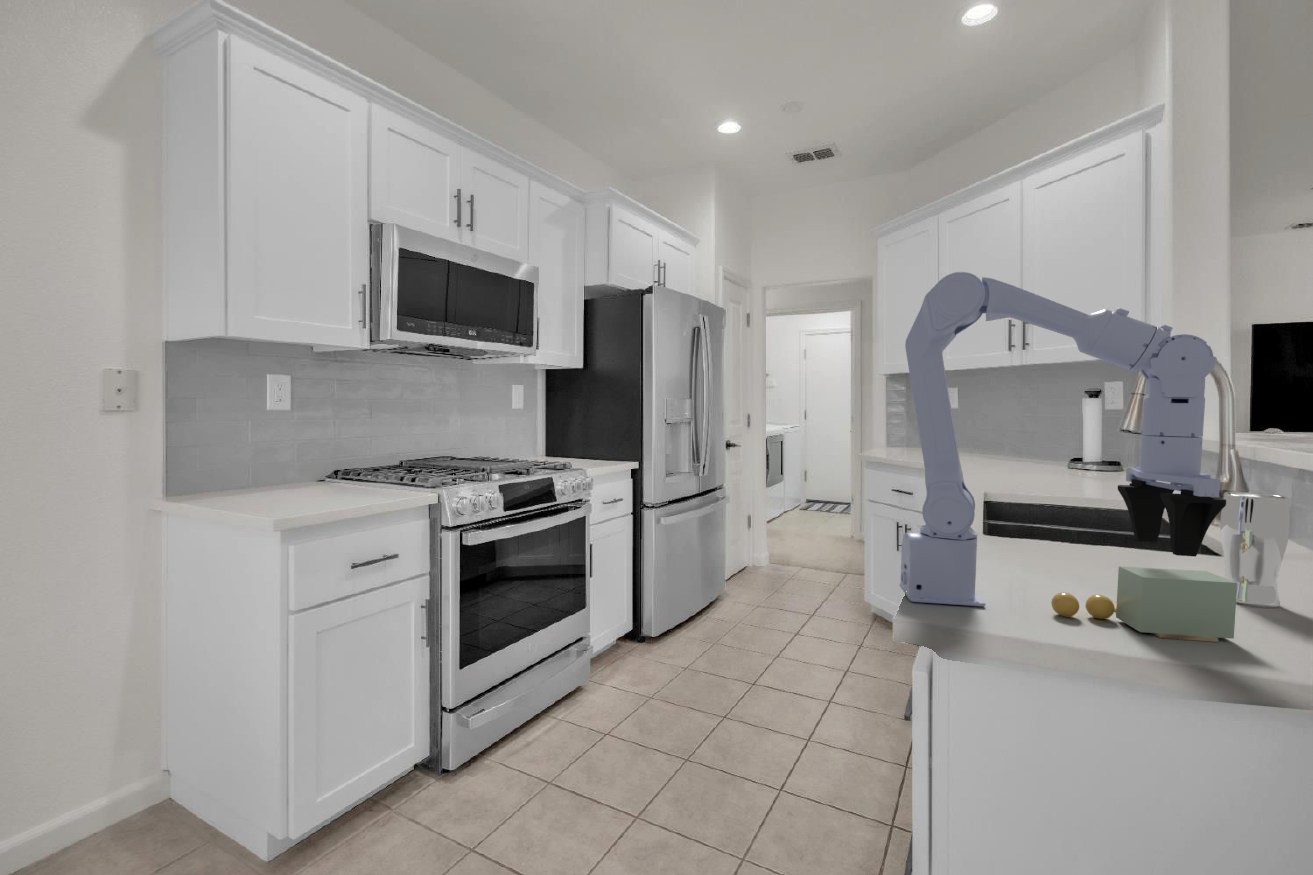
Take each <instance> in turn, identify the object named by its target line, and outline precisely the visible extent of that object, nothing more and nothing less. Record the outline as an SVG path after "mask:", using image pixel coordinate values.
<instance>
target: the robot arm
mask: <svg viewBox="0 0 1313 875" xmlns="http://www.w3.org/2000/svg"><path fill="white" fill-rule="evenodd" d="M1129 313H1130V311H1129V310H1126V309H1124V308H1122V307H1121V308H1120V307H1117V308H1116V309H1115V311H1114V310H1113V311H1112V310H1109V309H1107V308H1105V309H1101V310H1098V311H1096V312H1092V313H1085V312H1082V311H1080V310H1077V309H1075V308H1072V307H1071V306H1070V307H1069V306H1067V305H1064V304H1062V303H1059V302H1056V301H1054V300H1051V299H1048V298H1046V297H1043V296H1041V295H1039V294H1036V293H1034V292H1030V291H1028V290H1025V289H1024V288H1021V287H1019V286H1018V287H1017V286H1016V285H1012V284H1009V283H1007V282H1003V281H1000V280H997V279H994V278H990V277H986V276H981V278H979V277H978V276H977V275H975V274H973V273H971V272H967V271H956V272H952V273H949V274H947V275H945V276H944V277H942V278H941V279H940V280H939V281H938V282H936V284H935V285H934V286H933V287H932V288H931V289H930V290H929V291H928V292H927V293H925V296H924V298H923V300H922V303H921V306H920V308H919V311H918V313H917V315H916V317H915V320H914V322H913V324H912V326H911V328H910V331H909V332H908V334H907V337H906V338H905V339H906V340H905V344H904V346H905V347H904V348H905V353H906V360H907V361H906V362H907V366H908V371H909V373H908V374H909V378H910V384H911V390H912V397H913V403H914V404H913V405H914V409H915V410H914V411H915V415H916V421H917V427H918V434H919V440H920V446H921V452H922V460H923V464H924V465H923V466H924V478H925V479H924V480H925V481H924V484H925V489H926V490H925V491H926V496H925V501H924V502H923V505H922V509H921V510H922V511H921V512H922V513H921V514H922V519H923V521H924V523H925V524H922V525H921V526H920V528H919V530H920V531H917V532H905V533H904V534H903V536H902V541H901V556H900V557H901V558H900V560H901V561H900V563H901V564H900V582H899V585H898V586H899V587H900V590H902V591H903V593H904V594H905V595H906V597H907V598H908V600H909V601H910V602H914V603H924V604H925V603H928V604H938V605H939V604H941V605H942V604H943V605H954V606H955V605H956V606H957V605H958V606H969V607H970V606H971V607H986V602H985V601H984V600H982V599H981V597H979V596H978V595H977V594H976V577H977V575H976V574H977V571H976V570H977V552H978V532H977V531H976V530H974V529H973V528H972V527H971V526H972V525H973V523H974V520H975V515H976V514H975V510H976V501H975V499H974V498H975V497H974V496H973V494H972V493H971V491H970V490H969V489H968V488H967V486H966V484H965V480H964V475H963V470H962V465H961V461H960V454H959V449H958V447H959V446H958V442H957V436H956V431H955V425H954V424H955V423H954V417H953V411H952V404H951V399H950V398H951V397H950V393H949V386H948V382H947V381H948V380H947V375H946V369H945V364H944V363H945V362H944V357H943V354H944V353H943V352H944V350H945V349H946V348H947V347H948V346H949V345H950V344H951V342H953V340H954V339H955V338H956V337H957V335H958V334H960V333H961V332H963V331H965V330H966V329H968V328H969V327H971V326H972V325H973V324H975V323H977V322H978V320H980V318H981V317H982V316H983V314H985V322H991V321H995V320H996V321H997V320H1002V319H1007V318H1008V319H1009V318H1011V319H1015V320H1018V321H1021V322H1024V323H1027V324H1030V325H1033V326H1037V327H1039V328H1042V329H1045V330H1048V331H1052V332H1054V333H1057V334H1060V335H1063V336H1066V337H1070V338H1073V340H1074V341H1075V344H1076V347H1077V349H1078V351H1079V352H1080V353H1083V354H1084V355H1088V356H1090V357H1093V358H1096V359H1099V360H1101V361H1104V362H1107V363H1110V364H1112V365H1115V366H1117V367H1120V368H1122V369H1126V370H1128V371H1131V372H1136V371H1140V373H1141V375H1142V376H1143V378H1144V379H1145V391H1144V392H1145V394H1144V398H1143V401H1142V402H1143V403H1142V405H1143V406H1142V419H1141V420H1142V422H1141V435H1140V448H1139V449H1140V452H1139V464H1138V466H1126V471H1125V472H1126V473H1125V481H1126V482H1128V483H1129V484H1118V485H1117V491H1118V493H1119V494H1120V495H1121V497H1122V499H1123V501H1124V503H1125V506H1126V509H1127V511H1128V514H1129V518H1130V522H1131V523H1130V524H1131V526H1132V531H1133V534H1134V535H1133V536H1134V539H1135V541H1137V542H1146V543H1149V542H1150V543H1157V541H1158V539H1159V536H1160V533H1161V526H1162V521H1163V516H1164V513H1165V510H1166V514H1167V518H1168V524H1169V539H1170V547H1171V551H1172V555H1174V556H1177V557H1178V556H1179V557H1181V556H1183V557H1197V555H1198V553H1199V550H1200V548H1201V546H1202V543H1203V540H1204V539H1205V536H1206V534H1207V531H1208V530H1209V528H1210V526H1211V524H1212V523H1213V521H1214V520H1215V518H1216V517H1217V515H1218V514H1219V513H1220V512H1222V509H1223V508H1224V507H1225V506H1226V500H1225V499H1224V498H1222V497H1221V498H1220V490H1221V488H1220V487H1221V479H1219V478H1218V479H1217V478H1212V475H1211V474H1210V473H1201V472H1202V471H1201V470H1202V469H1201V468H1202V452H1203V440H1204V439H1203V438H1204V437H1203V436H1204V426H1205V423H1204V422H1205V408H1206V398H1205V389H1206V377H1208V376H1209V375H1210V373H1212V371H1213V370H1214V368H1215V366H1216V364H1217V357H1216V356H1214V352H1213V349H1212V347H1211V345H1208V344H1207V343H1208V342H1207V341H1206V340H1204V339H1203V338H1202V337H1199V336H1197V335H1192V334H1175V335H1172V334H1171V332H1172V330H1173V326H1169V325H1167V324H1162V325H1161V326H1160V327H1159V326H1156V325H1154V324H1151V323H1147V322H1146V321H1145V322H1144V321H1142V320H1139V319H1137V318H1136V319H1135V318H1134V317H1130V316H1129ZM1171 335H1172V336H1171ZM1174 491H1177V492H1180V493H1174ZM906 591H907V592H906Z"/></svg>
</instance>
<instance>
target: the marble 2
mask: <svg viewBox="0 0 1313 875" xmlns="http://www.w3.org/2000/svg"><path fill="white" fill-rule="evenodd" d="M1112 601H1113V600H1111V599H1110V598H1109V597H1108V596H1106V595H1103V594H1093V595H1091V596H1089V597H1088V598H1087V599H1086V601H1085V609H1086V611H1087V612H1088V614H1089V615H1090V616H1092V617H1093V618H1095V619H1098V620H1107V619H1109V618H1111V617H1112V616H1113V614H1115V611H1114V610H1115V608H1114V604H1113V602H1112Z"/></svg>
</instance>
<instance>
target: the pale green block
mask: <svg viewBox="0 0 1313 875" xmlns="http://www.w3.org/2000/svg"><path fill="white" fill-rule="evenodd" d="M1116 593H1117V594H1116V601H1117V608H1116V612H1115V619H1116V618H1117V619H1118V620H1120V621H1122V622H1123V623H1125V624H1126V625H1128V626H1130V627H1131V628H1133V629H1134V630H1136V631H1138V632H1139V633H1148V634H1149V633H1151V634H1152V633H1162V634H1176V635H1190V636H1204V637H1216V638H1218V639H1219V638H1220V639H1233V640H1234V639H1235V628H1236V627H1235V624H1236V607H1237V603H1236V595H1237V583H1236V582H1234V581H1231V580H1228V579H1226V578H1225V577H1223V576H1220V575H1217V574H1215V573H1212V572H1209V571H1207V570H1192V569H1174V568H1157V567H1156V568H1155V567H1141V566H1139V567H1138V566H1137V567H1136V566H1118V573H1117V592H1116Z"/></svg>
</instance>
